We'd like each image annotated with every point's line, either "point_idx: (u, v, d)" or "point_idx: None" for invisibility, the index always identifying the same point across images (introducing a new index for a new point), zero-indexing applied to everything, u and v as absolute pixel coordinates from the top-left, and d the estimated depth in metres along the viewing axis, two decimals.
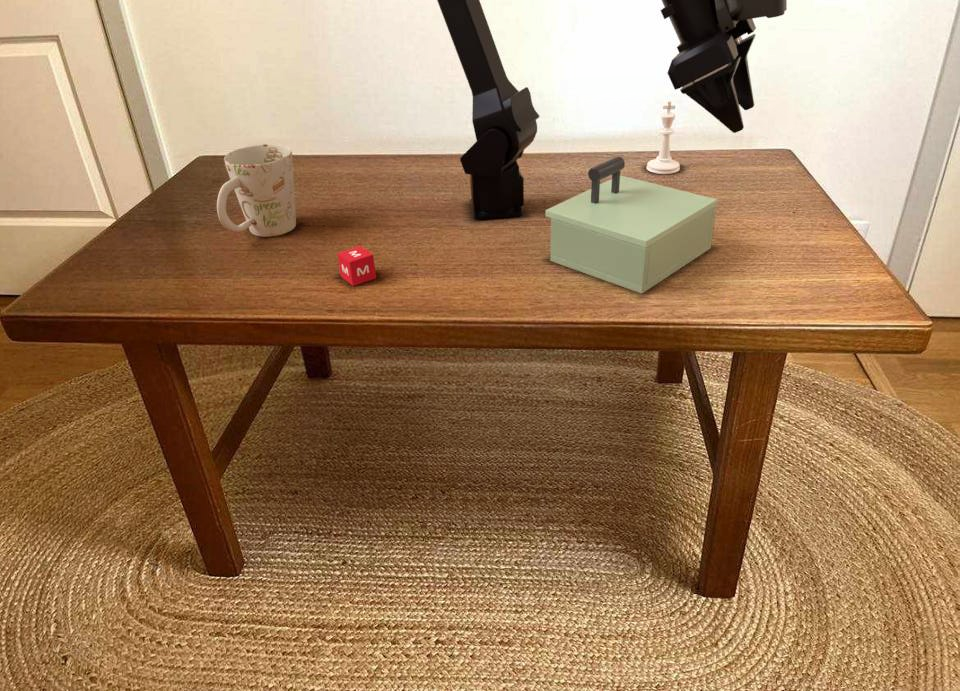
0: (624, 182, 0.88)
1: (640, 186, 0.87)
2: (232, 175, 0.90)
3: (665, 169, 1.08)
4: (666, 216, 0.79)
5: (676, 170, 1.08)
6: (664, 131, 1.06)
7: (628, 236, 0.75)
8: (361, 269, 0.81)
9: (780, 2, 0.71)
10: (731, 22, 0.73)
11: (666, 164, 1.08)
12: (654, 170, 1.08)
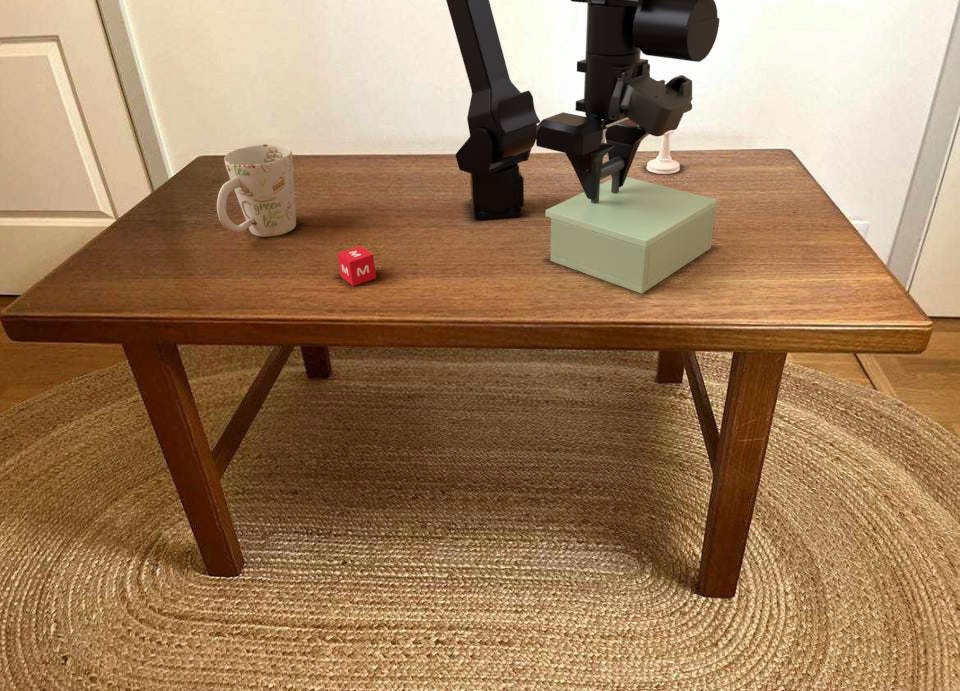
0: (624, 182, 0.88)
1: (640, 186, 0.87)
2: (232, 175, 0.90)
3: (665, 169, 1.08)
4: (666, 216, 0.79)
5: (676, 170, 1.08)
6: None
7: (628, 236, 0.75)
8: (361, 269, 0.81)
9: (659, 125, 0.73)
10: (617, 114, 0.75)
11: (666, 164, 1.08)
12: (654, 170, 1.08)
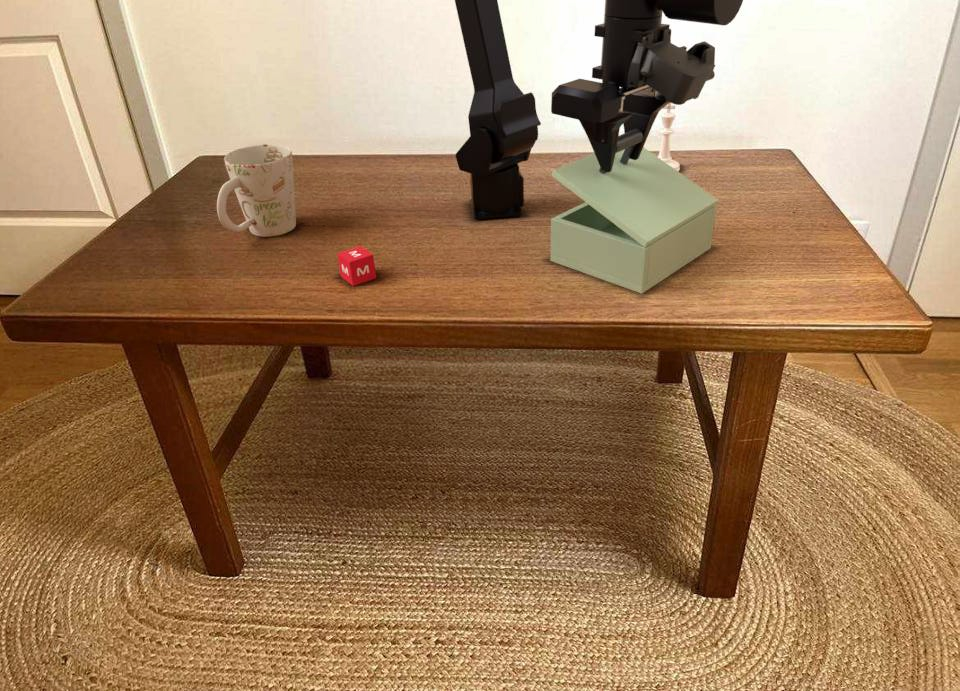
0: None
1: (648, 160, 0.85)
2: (232, 175, 0.90)
3: None
4: (669, 211, 0.79)
5: None
6: (664, 131, 1.06)
7: (631, 230, 0.75)
8: (361, 269, 0.81)
9: (681, 92, 0.70)
10: (637, 81, 0.72)
11: None
12: None
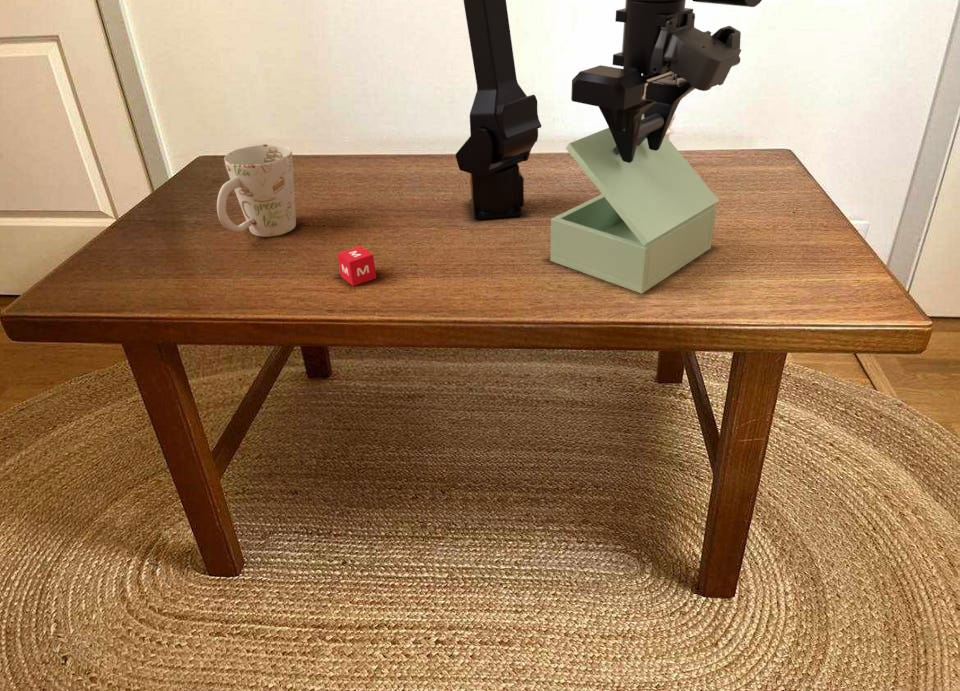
0: None
1: None
2: (232, 175, 0.90)
3: None
4: (672, 208, 0.78)
5: None
6: None
7: (634, 226, 0.74)
8: (361, 269, 0.81)
9: (706, 78, 0.68)
10: (660, 67, 0.70)
11: None
12: None
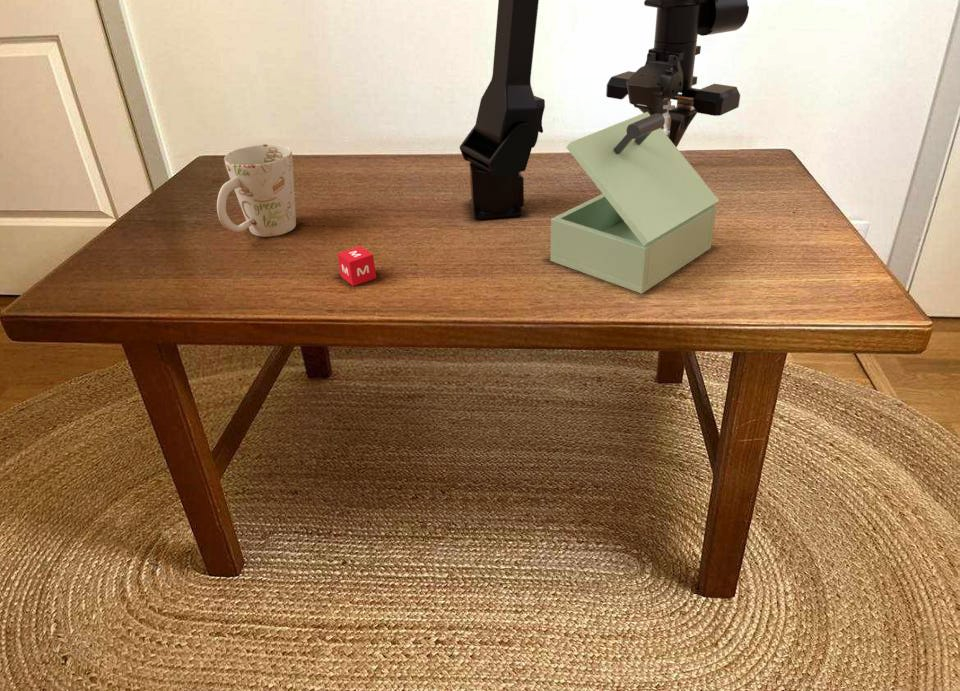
0: None
1: (661, 142, 0.83)
2: (232, 175, 0.90)
3: None
4: (672, 208, 0.78)
5: None
6: (664, 131, 1.06)
7: (634, 226, 0.74)
8: (361, 269, 0.81)
9: (628, 94, 1.00)
10: None
11: None
12: None
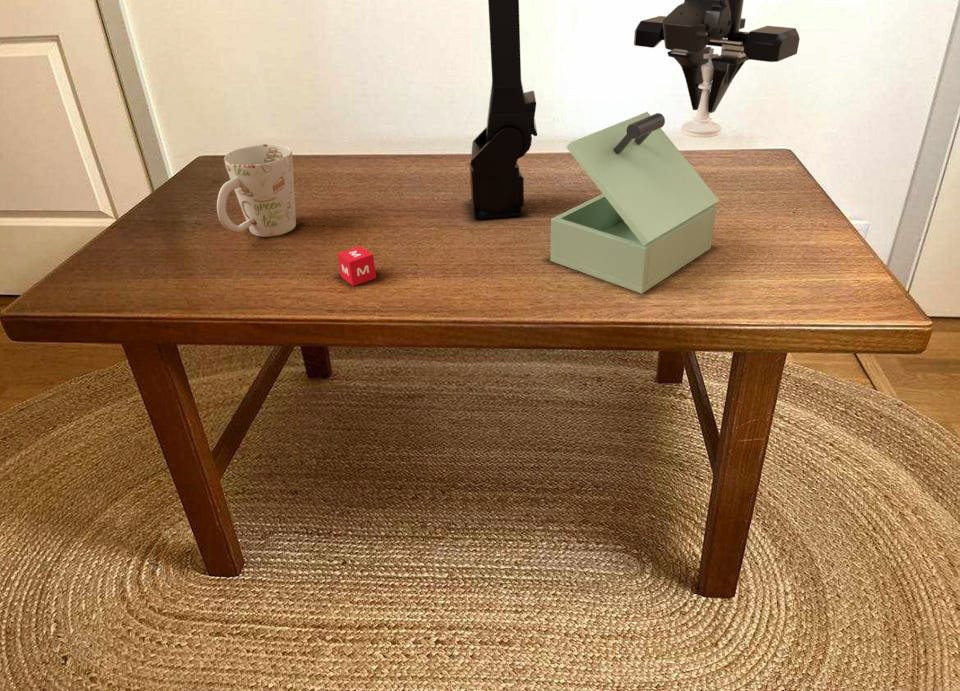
0: None
1: (661, 142, 0.83)
2: (232, 175, 0.90)
3: (704, 131, 0.90)
4: (672, 208, 0.78)
5: (717, 133, 0.91)
6: (705, 85, 0.89)
7: (634, 226, 0.74)
8: (361, 269, 0.81)
9: (664, 37, 0.83)
10: None
11: (706, 126, 0.91)
12: (691, 133, 0.91)
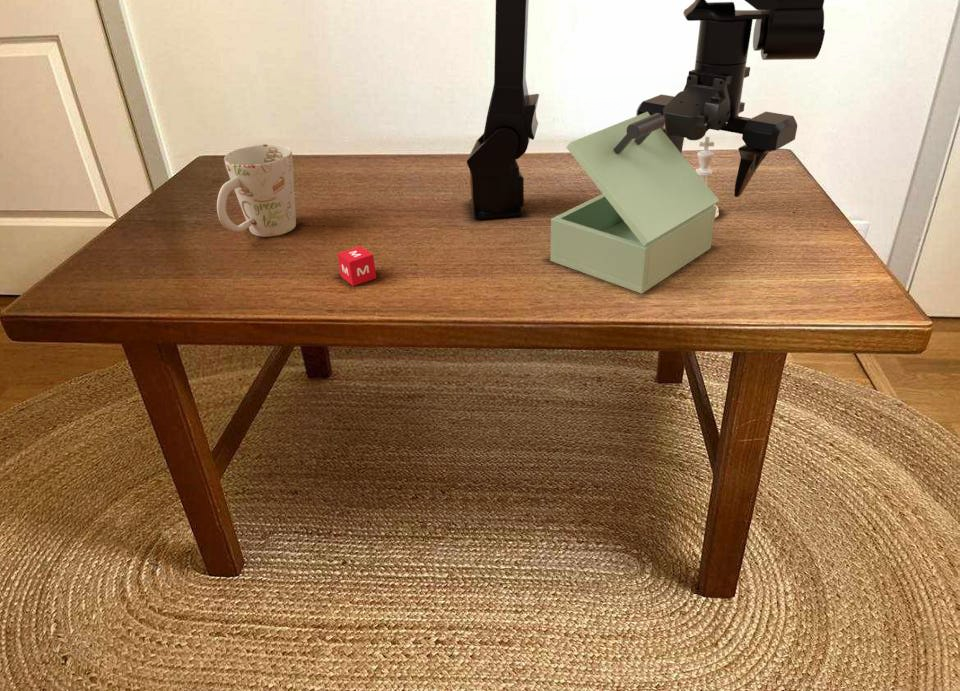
0: None
1: (661, 142, 0.83)
2: (232, 175, 0.90)
3: None
4: (672, 208, 0.78)
5: (715, 215, 0.93)
6: (701, 172, 0.91)
7: (634, 226, 0.74)
8: (361, 269, 0.81)
9: (664, 124, 0.85)
10: None
11: None
12: None
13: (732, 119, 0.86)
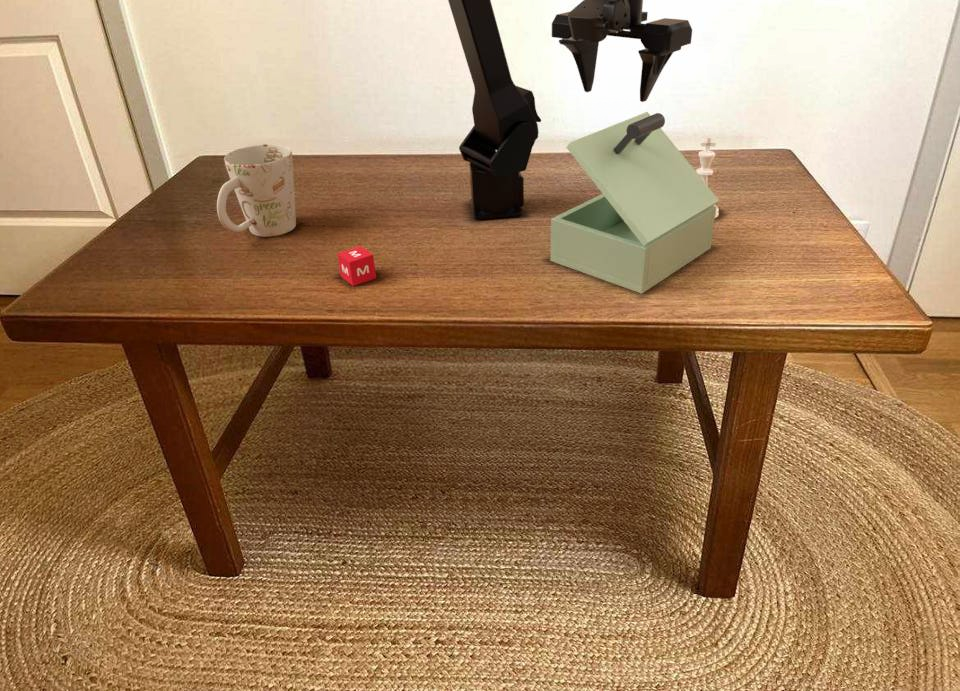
0: None
1: (661, 142, 0.83)
2: (232, 175, 0.90)
3: None
4: (672, 208, 0.78)
5: (715, 216, 0.93)
6: (702, 172, 0.91)
7: (634, 226, 0.74)
8: (361, 269, 0.81)
9: (570, 29, 0.92)
10: None
11: None
12: None
13: (634, 25, 0.93)
